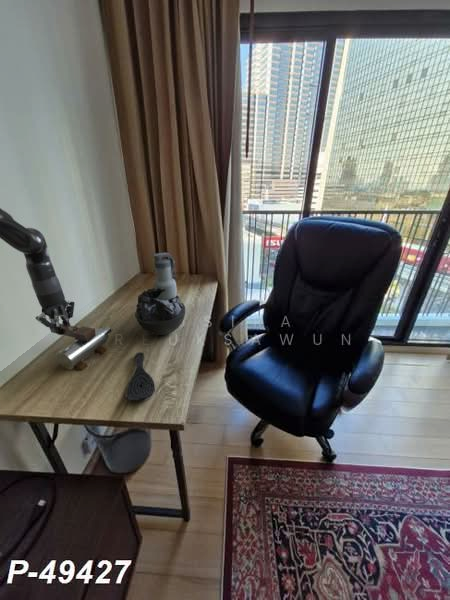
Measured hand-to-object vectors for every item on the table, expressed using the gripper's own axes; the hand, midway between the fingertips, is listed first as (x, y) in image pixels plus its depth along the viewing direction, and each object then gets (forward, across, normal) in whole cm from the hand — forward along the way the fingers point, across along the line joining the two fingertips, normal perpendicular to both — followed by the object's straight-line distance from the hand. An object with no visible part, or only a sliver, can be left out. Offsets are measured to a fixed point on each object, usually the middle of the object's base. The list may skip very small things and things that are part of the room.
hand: (64, 332), depth 92 cm
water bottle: (+8, -40, +19) cm, 45 cm away
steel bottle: (+8, 0, +10) cm, 13 cm away
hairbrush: (+8, +3, +35) cm, 36 cm away
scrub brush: (0, 0, +4) cm, 4 cm away
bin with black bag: (+8, -23, +27) cm, 36 cm away
